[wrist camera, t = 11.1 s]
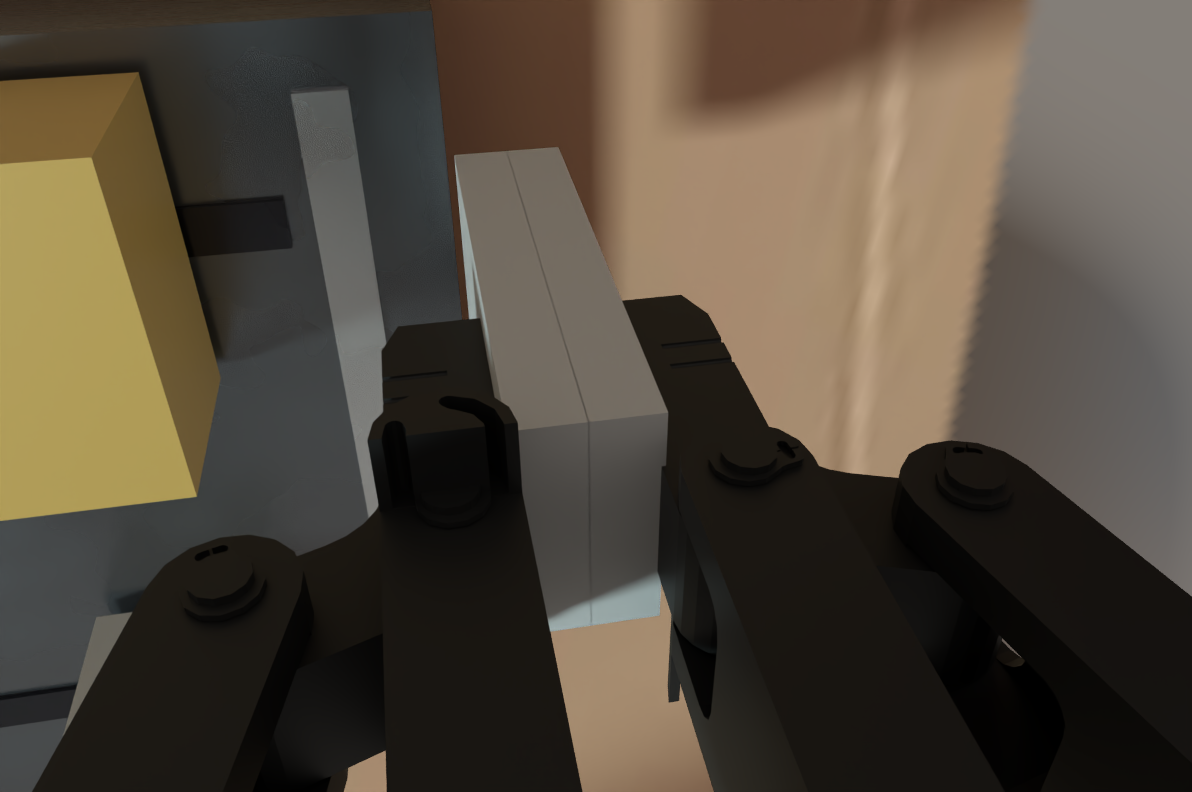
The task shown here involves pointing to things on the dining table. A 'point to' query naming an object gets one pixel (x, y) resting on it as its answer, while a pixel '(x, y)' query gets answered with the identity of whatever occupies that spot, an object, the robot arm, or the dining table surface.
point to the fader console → (244, 291)
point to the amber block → (94, 306)
